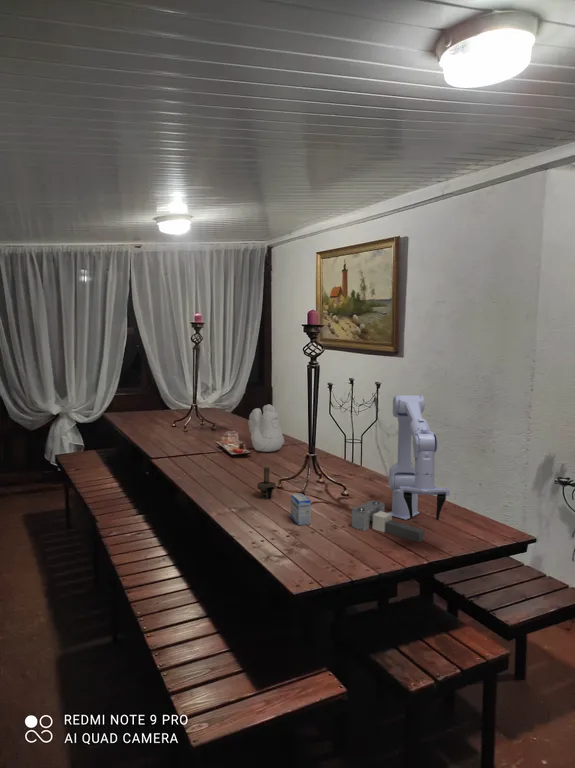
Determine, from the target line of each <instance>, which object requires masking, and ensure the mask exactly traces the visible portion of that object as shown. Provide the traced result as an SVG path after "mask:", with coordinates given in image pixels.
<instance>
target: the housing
mask: <svg viewBox="0 0 575 768" xmlns="http://www.w3.org/2000/svg"><path fill="white" fill-rule="evenodd" d="M385 505H386V504H385V503H384V502H381V501H378V500H370V501H367V502H365V503H363V504H361V505H358V506H355V507H353V508H351V528H353V527H354V528H353V529H356V528H357V530H359V529H360V530H359V531H362V530H363V532H365V531H368V530H369V529H370V525H371V524H370V523H371V521H372V523H373V514H375V513H377V512H380V511H382V512H385V508H386V507H385ZM385 513H386V512H385Z"/></svg>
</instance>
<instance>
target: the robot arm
mask: <svg viewBox="0 0 575 768" xmlns="http://www.w3.org/2000/svg"><path fill="white" fill-rule="evenodd" d="M425 405H426V404H425V397H424V396H423V395H422V394H417V395H414V394H410V395H409V394H401V395H399V394H394V396H393V399H392V415H393V417H395V418H397V422H398V425H397V426H398V427H397V429H398V430H397V431H398V432H397V433H398V434H397V462H396V463H395V464H393V465H392V466H390V468H389V473H388V487H389V489H390V490H391V491H392V498H391V499H392V501H391V502H392V503H391V511H388V512H387V513H389V514H392V517H395V518H398V519H401V520H405V521H407V520H408V519H413V517H415V516H417V515H419V514H420V511H419V510H418V504H419V502H418V501H419V500H418V499H419V495H431V496H436V513H435V516H436V517H435V518H436V521H439V520H440V515H441V511H442V508H443V505H444V503H445V501H446V500H447V497H450V496H451V494H450V492H451V491H450V488H449V487H448V488H445V487H435V464H436V463H435V461H436V460H435V453H437V450H438V437H437V434H436V433H435V432H433V431H431V428H430V426H429V424H428V423H429V422H428V421H427V420H426V419H425V418H423V415H422V414H423V412H424V410H425ZM412 449H413V458H414V465H413V464H412Z"/></svg>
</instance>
